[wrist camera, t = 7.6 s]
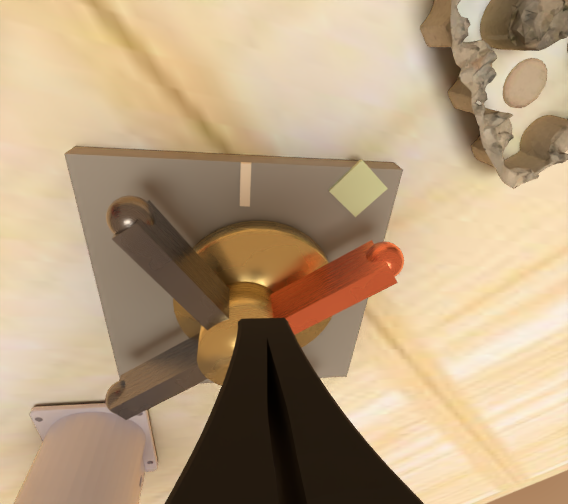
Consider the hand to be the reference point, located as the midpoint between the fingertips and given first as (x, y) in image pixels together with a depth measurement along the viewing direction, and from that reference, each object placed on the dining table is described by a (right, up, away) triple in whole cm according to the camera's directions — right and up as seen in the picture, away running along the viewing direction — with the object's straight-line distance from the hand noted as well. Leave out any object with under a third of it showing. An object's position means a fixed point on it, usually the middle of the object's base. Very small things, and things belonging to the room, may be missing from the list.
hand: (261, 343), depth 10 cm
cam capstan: (-2, 0, +10) cm, 10 cm away
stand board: (-2, +1, +11) cm, 12 cm away
